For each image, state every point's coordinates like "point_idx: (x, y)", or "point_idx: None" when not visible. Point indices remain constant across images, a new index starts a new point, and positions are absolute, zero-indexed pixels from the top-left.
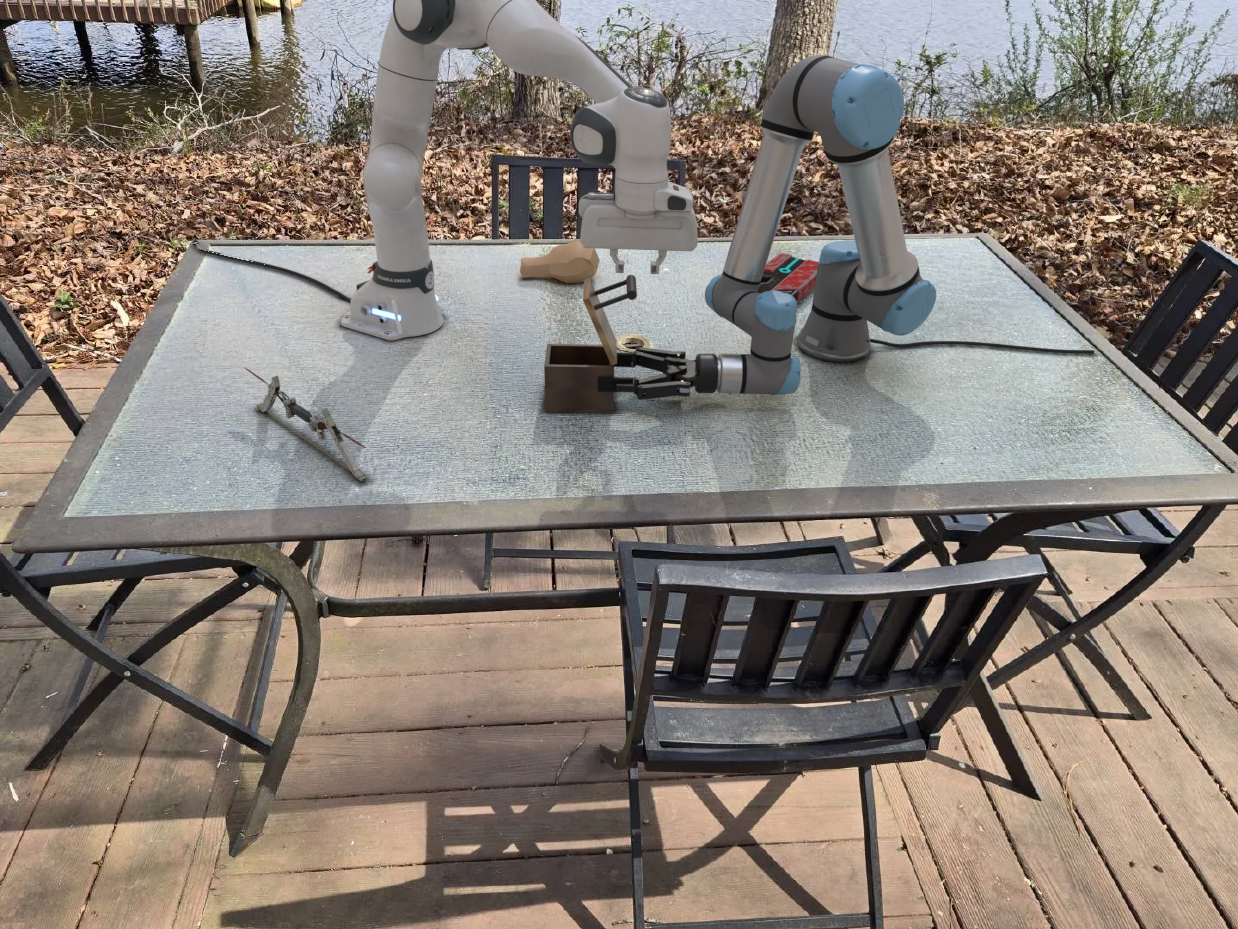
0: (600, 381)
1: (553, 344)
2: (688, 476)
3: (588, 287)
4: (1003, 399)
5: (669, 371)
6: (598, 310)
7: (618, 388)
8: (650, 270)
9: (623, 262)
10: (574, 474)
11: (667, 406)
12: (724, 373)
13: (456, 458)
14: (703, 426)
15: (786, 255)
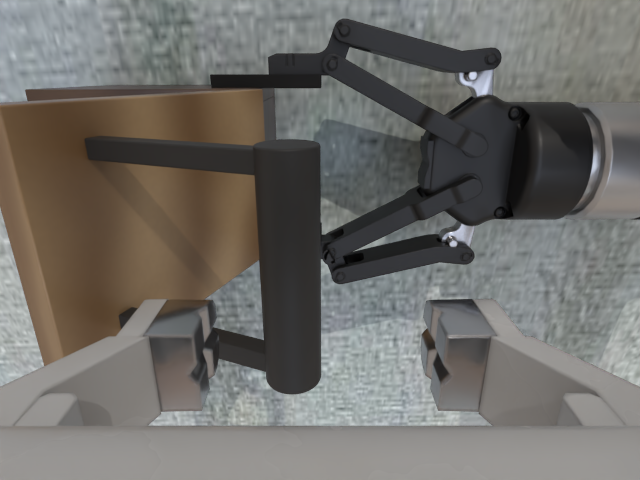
0: None
1: (48, 95)
2: (413, 402)
3: (35, 263)
4: None
5: (425, 207)
6: (150, 240)
7: None
8: (426, 318)
9: (194, 366)
10: (220, 401)
11: (406, 168)
12: (583, 218)
13: (7, 364)
14: (473, 251)
15: None
